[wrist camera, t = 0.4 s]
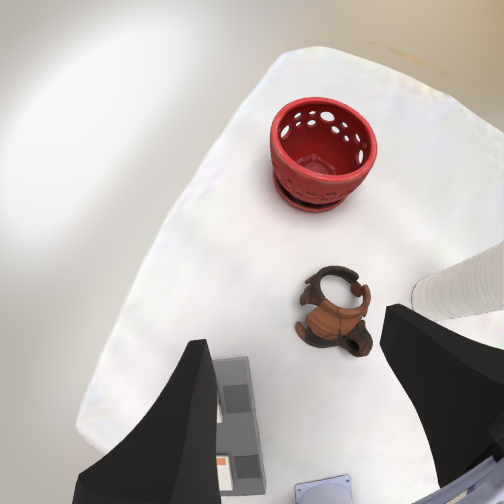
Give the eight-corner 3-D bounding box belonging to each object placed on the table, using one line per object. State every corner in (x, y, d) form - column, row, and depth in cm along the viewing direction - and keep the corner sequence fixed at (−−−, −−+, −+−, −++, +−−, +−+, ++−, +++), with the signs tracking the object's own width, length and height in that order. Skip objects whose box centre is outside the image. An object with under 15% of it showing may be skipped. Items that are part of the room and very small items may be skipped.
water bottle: (406, 314, 36) (539, 282, 12) (416, 272, 37) (537, 203, 13) (450, 330, 34) (581, 310, 10) (459, 289, 36) (581, 242, 12)
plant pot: (276, 226, 41) (277, 185, 29) (266, 150, 44) (263, 97, 33) (364, 217, 40) (393, 177, 29) (344, 145, 44) (360, 95, 32)
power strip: (266, 484, 31) (265, 495, 28) (210, 486, 31) (206, 496, 28) (247, 356, 36) (245, 359, 33) (188, 361, 36) (181, 364, 33)
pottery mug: (274, 317, 38) (290, 279, 32) (321, 287, 43) (341, 249, 37) (335, 384, 32) (366, 358, 26) (377, 343, 37) (408, 311, 31)
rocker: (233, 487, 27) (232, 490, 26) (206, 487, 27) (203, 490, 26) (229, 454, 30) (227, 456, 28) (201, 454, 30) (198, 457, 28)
